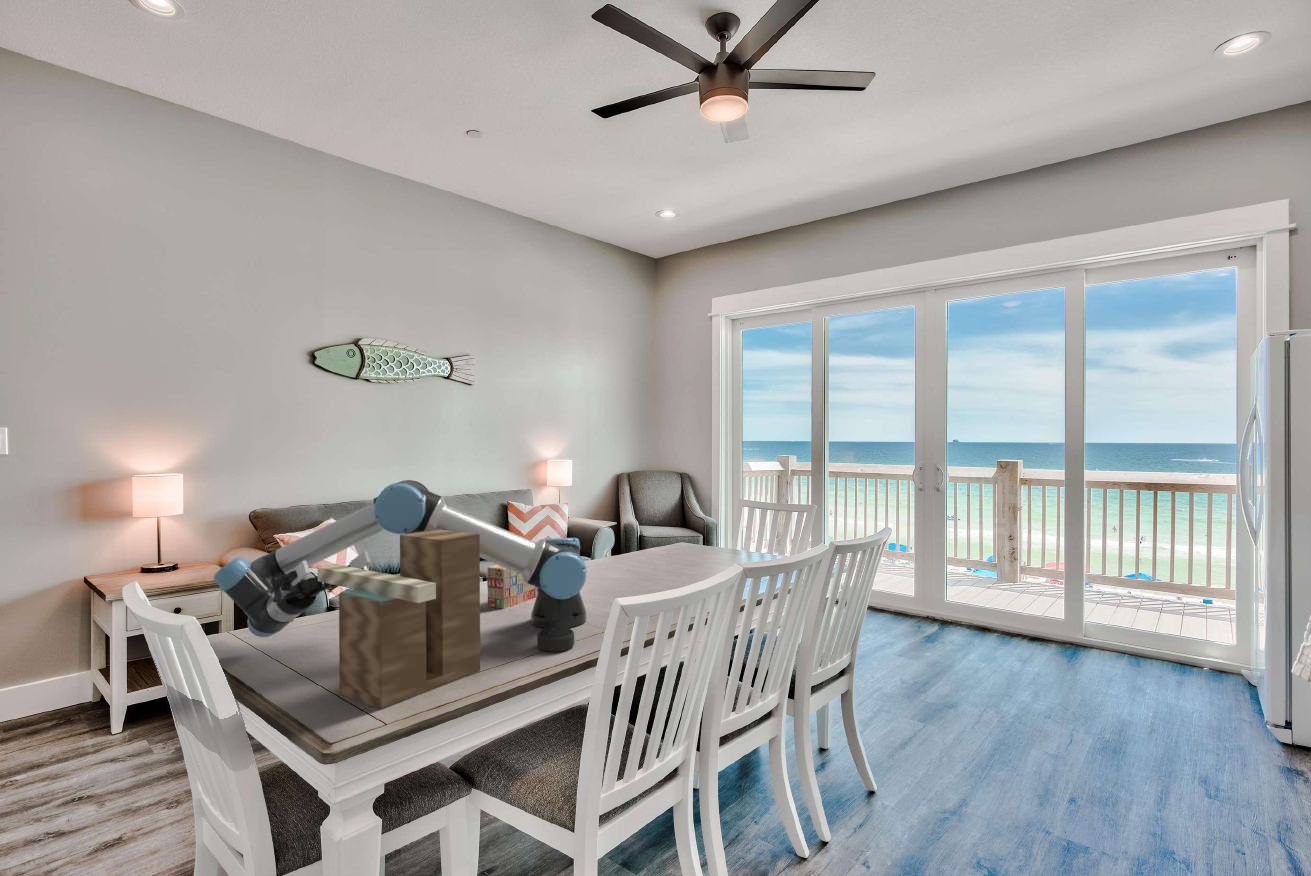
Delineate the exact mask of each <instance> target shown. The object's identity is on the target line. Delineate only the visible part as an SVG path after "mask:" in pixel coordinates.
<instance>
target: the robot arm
mask: <svg viewBox="0 0 1311 876" xmlns="http://www.w3.org/2000/svg"><path fill="white" fill-rule="evenodd" d="M436 529H441V530H449V531H458V532H466V533H474V534H480V559H483V560H485V561H488V562H490V563H493V564H494V565H500V566H502V567H505V568H507V569H510V570H512V571H515V572H517V573H520V574H522V576H523V578H524V581H525V582H526V583H528V584H530V585H533V586H535V587H538V594H537V597H535V601H534V603H533V608H532V611H531V614H530V623H531V624H532V625H533V626H534V627H537V628H542V629H546V628H551V627H566V628H569V629H570V628H574V627H577V626H581V625H583V624H584V623H586V622H587V610H586V608H585V607H586V606H585V604H584V602H583V601H584V600H583V598H582V594H581V590H582V589H583V587H584V585H585V583H586V580H587V566H586V564H585V562H584V560H583V559H582V558H581V554H580V553H581V552H580V550H581V543H580V539H579V538H577V537H559V538H557V537H555V538H553V537H552V538H541V539H539V540H538V541H533V540H530V539H527V538H525V537H523V536H521V535H518V534H516V533H513V532H512V531H510V530H506V529H504V528H502V527H499V526H497V525H495V524H492V523H490V522H487V521H485V520H482V519H480V518H477V517H476V516H473V515H470V514H468V513H465V512H463V511H461V510H459V509H457V508H455V507H453V506H452V507H451V506H449V505H447V503H446V500H445V498H444V497H443V496H441V495H439V494H436V493H434V492H432V491H430V490H429V489H428V488H427V487H426V486H425V485H424V484H423V483H422V482H420V481H417V480H411V479H407V480H402V481H398V482H395V483H391V484H389V485H388V486H386V487H384V489H383V490H381V492H380V493H379V495H378V496H376V497H374V498H373V499H372V501H371V503H370V504H369V505H366V506H364V507H363V508H361V509H358V510H356V511H354V512H353V513H350V514H348V515H346V516H344V517H342V518H339V519H338V520H336V521H333V522H332V523H329V524H327V525H326V526H323V527H321V528H319V529H317V530H314V531H313V532H311V533H309V534H306V535H304V536H302V537H300V538H298V539H296V540H295V541H292V542H290V543H288V544H286V545H284V546H282V547H279V548H278V549H276V550H274V551H271V552H270V553H268V554H265V555H263V556H260V557H258V558H256V559H255V560H253V561H251V562H250V561H248V560H247V559H246V558H245V557H242V556H238V557H236V558H235V559H233V560H231V561H230V562H228V563H227V564H225V565H224V566H222V567H221V568H220V569H219V570H217V571H216V573H215V574H214V575H213V580H214V582H215V583H216V584H217V585H218V586H219V588H220V590H221V591H222V592H224V593H225V594H226V595H227V596H228V597H229V598H230V599H231V600H232V601H233V602H234V603H235V604H236V605H237V606H238V607H239V608H240V609H241V610H242V611H243V612H244V614H245V615H246V616H247V617H248V618H247V620H246V621H247V622H246V623H247V627H248V630H249V632H250V633H252V634H253V635H254V636H256V637H260V638H269V637H271V636H274V635H275V634H277V633H278V632H280V631H282V630H283V629H284V628H286V627H287V626H288V625H289V624H290V623H293V622H294V620H295V619H296V618H297V617H298V616H300V615H301V614H302V613H304V612H305V611H306V610H307V609H309V608H310V607H311V606H313V604H314V603H315V601H316V600H317V596H318V595H319V594H320V593H321V592H324V591H327V590H328V591H329V592H330V591H331V592H332V591H333V590H335V589H336V588H338V587H339V586H338V585H333V584H328V583H324V582H319V581H318V575H316V576H314V577H309V578H307V579H305V578H306V577H307V576H308V575H309V574H310V573H311V571H310V569H309V567H312V566H314V565H317V564H318V563H320V562H322V561H324V560H326V559H328V558H330V557H332V556H334V555H336V554H338V553H340V552H342V551H344V550H346V549H349V548H350V547H352V546H354V545H357V544H359V543H361V542H363V541H365V540H367V539H369V538H371V537H373V536H375V535H378V534H380V533H381V532H383V531H386V532H389V533H392V534H397V535H402V534H409V533H416V532H422V531H429V530H436ZM369 563H371V559H370V556H369V553H368V550H363V551H362V552H361V553H359V554H358V555H357V556H356V557H355V558H354V559H352V560H350V561H349V563H348V565H347V566H348V567H354V568H359V569H364V568H365V567H366V566H367V565H369ZM364 570H365V569H364Z"/></svg>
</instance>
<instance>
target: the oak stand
mask: <svg viewBox="0 0 1311 876" xmlns="http://www.w3.org/2000/svg"><path fill="white" fill-rule="evenodd" d="M480 560H481V558H480V534H474V533H466V532H458V531H449V530H441V529H436V530H429V531H422V532H416V533H409V534H399V564H400V565H399V576H401V577H407V578H412V579H417V580H423V581H428V582H433V583H436V599H432V600H428V601H425V602H421V603H415V602H411V601H406V600H401V599H397V598H392V597H388V596H383V595H379V594H374V593H370V592H365V591H360V590H356V589H348V590H345V591H342V592H341V593H339V594H338V619H339V620H338V636H339V639H338V641H339V644H338V647H339V649H338V650H339V651H338V653H339V656H338V657H339V659H338V661H339V666H338V667H339V669H338V670H339V694H341V695H343V696H344V697H347V698H350V699H353V700H355V701H358V702H361V703H364V704H365V705H369V706H371V707H375V708H376V709H379V710H385V709H386V708H389V707H392V706H394V705H396V704H400V703H402V702H405V701H406V700H409V699H412V698H415V697H418V696H420V695H422V694H424V693H428V692H430V691H432V690H435V689H438V688H440V687H442V686H445V685H448V684H450V683H453V682H456V681H457V680H460V679H463V678H466V677H468V676H471V675H474V674H476V673H478V672H481V591H480V589H481V584H480V583H481V580H480V579H481V576H480V575H481V569H480V566H481V563H480V562H481V561H480Z"/></svg>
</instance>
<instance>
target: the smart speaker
mask: <svg viewBox="0 0 1311 876" xmlns="http://www.w3.org/2000/svg"><path fill="white" fill-rule="evenodd" d="M574 646H575V632H574V630H572V629H571V628H570V627H569V628H566V627H551V628H542V630H539V632H538V633H537V647H538V649H539V650H541V651H543V652H547V653H559V652H560V653H561V652H565V651H568V650H571V648H573V647H574Z"/></svg>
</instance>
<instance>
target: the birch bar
mask: <svg viewBox="0 0 1311 876" xmlns="http://www.w3.org/2000/svg"><path fill="white" fill-rule="evenodd" d="M317 576H318V581H319V582H322V583H328V584H333V585H338V587H342V588H347V589H350V590H353V589H356V590H360V591H365V592H370V593H374V594H379V595H383V596H388V597H392V598H397V599H401V600H406V601H411V602H415V603H421V602H425V601H428V600H432V599H436V583H433V582H428V581H423V580H417V579H412V578H407V577H401V576H400V575H395V574H391V573H385V572H380V571H374V570H369V569H359V568H354V567H348V565H341V564H338V563H337V564H336V563H335V564H329V565H323V566H317Z"/></svg>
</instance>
